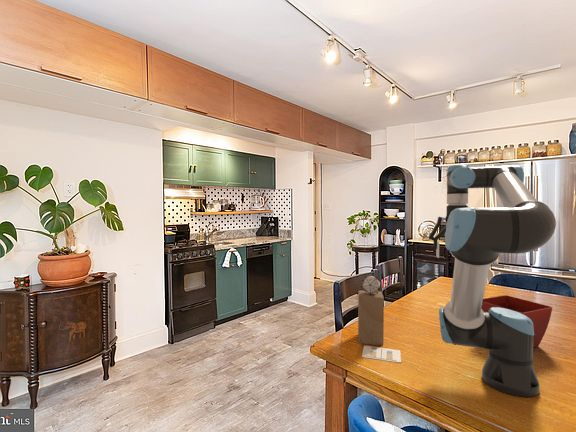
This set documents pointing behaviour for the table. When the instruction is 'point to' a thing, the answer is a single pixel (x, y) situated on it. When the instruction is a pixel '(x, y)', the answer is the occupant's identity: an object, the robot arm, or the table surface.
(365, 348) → the page
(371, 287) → the game die
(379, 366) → the table surface
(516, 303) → the plant pot
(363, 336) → the wooden block
